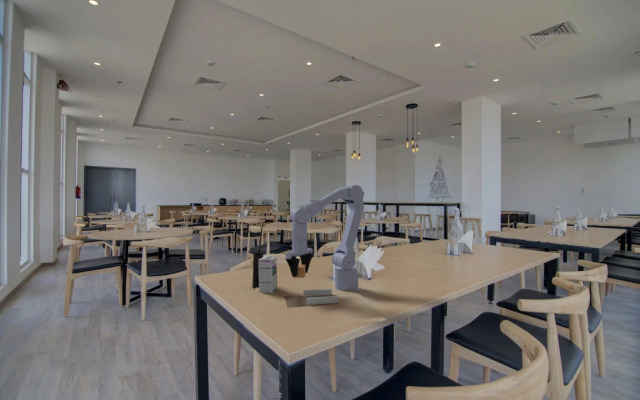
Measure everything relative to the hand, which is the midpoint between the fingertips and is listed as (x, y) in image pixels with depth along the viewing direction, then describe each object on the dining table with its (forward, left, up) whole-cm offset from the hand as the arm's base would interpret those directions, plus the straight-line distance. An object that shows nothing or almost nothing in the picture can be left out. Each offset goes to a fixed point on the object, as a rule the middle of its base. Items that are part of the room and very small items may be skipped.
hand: (299, 274), depth 115 cm
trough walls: (-6, +7, -8) cm, 12 cm away
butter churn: (+17, -17, -9) cm, 26 cm away
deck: (-3, +7, -9) cm, 12 cm away
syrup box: (+12, -8, -9) cm, 17 cm away
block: (0, 0, -1) cm, 1 cm away
